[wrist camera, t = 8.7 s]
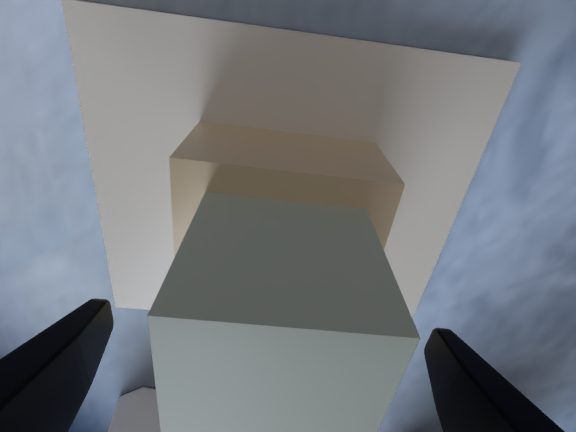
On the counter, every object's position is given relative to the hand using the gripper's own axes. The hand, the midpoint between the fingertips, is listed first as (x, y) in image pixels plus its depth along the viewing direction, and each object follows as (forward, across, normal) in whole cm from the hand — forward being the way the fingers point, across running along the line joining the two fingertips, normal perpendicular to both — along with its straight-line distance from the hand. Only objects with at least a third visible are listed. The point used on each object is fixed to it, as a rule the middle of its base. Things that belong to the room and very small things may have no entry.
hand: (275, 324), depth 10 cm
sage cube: (+3, 0, 0) cm, 3 cm away
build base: (+8, 0, 0) cm, 8 cm away
